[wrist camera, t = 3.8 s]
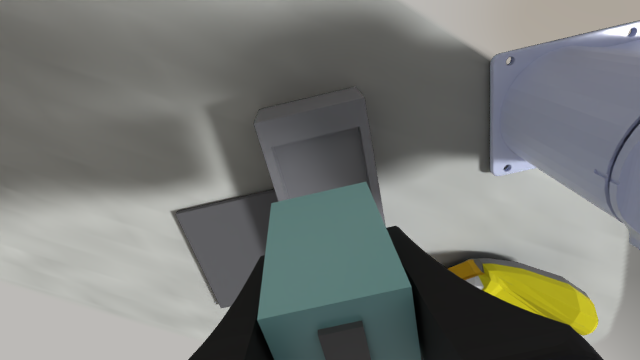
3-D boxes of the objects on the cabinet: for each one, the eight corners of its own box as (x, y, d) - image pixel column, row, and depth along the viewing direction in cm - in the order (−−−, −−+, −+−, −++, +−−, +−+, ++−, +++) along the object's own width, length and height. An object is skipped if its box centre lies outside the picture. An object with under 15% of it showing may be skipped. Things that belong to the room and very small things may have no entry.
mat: (275, 188, 23) (275, 191, 23) (306, 286, 27) (306, 290, 27) (177, 211, 24) (175, 214, 23) (222, 304, 27) (221, 308, 27)
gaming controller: (565, 267, 28) (471, 223, 26) (622, 321, 23) (513, 273, 21) (455, 376, 34) (368, 349, 31) (482, 438, 29) (382, 412, 26)
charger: (366, 181, 14) (413, 292, 8) (379, 257, 16) (427, 390, 10) (271, 203, 14) (256, 326, 9) (295, 275, 16) (296, 417, 10)
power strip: (259, 109, 21) (252, 127, 18) (355, 86, 21) (366, 100, 17) (317, 298, 28) (319, 336, 25) (389, 283, 28) (401, 319, 24)
